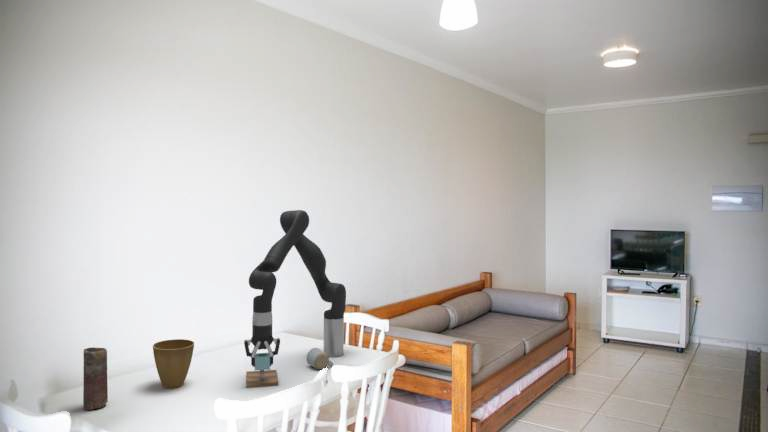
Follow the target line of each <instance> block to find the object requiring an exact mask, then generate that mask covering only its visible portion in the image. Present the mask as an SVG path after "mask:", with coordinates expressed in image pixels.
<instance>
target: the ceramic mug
mask: <svg viewBox="0 0 768 432" xmlns="http://www.w3.org/2000/svg"><path fill="white" fill-rule="evenodd" d="M306 363H307V364H308V365H310V366H312V367H313V368H314V369H317V370H320V369H321V370H324V369H325V367H326V368H327V367H333V366H334V362H333V361H331V360H330V358H329V357H328V356H327V354H326V353H324V350H322V349H321V348H318V347H314V348H311V349H310V350H308V352H307V354H306ZM323 368H324V369H323Z"/></svg>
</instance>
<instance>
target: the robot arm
mask: <svg viewBox="0 0 768 432" xmlns="http://www.w3.org/2000/svg"><path fill="white" fill-rule="evenodd" d="M279 223H280V226H281V227H280V228H281V229H282V230H283V233H285V234H284V235H283V236H282V237H281V238H280V239H279V240H277V241H276V242H275V243H274V244H273V245H272V246H271V248H270V249H269V251H268V252H267V253H266V256H265V257H264V259H263V261H262V262H260V263H259V264H258V265H257V266H256V267H255V268H254V269H253V270H252V272H250V275H249V277H248V278H249V279H248V285H249V286H250V288H251V289H253V290H260V291H262V293H261V295H260V294H259V295H256V296H254V297H253V301H252V318H251V319H252V320H251V321H252V328H251V329H252V333H251V334H252V336H251V338H250V339H244V341H243V344H244V349H245V355H246V357H250V360H251V362H250V363H251V364H250V365H251V366H252V368H255V354H256V353H258V350H267V353H269V354H270V367H272V365H274V356H277V355H278V354H279V350H280V344H281V339H280V338H279V337H277V338H274V337H273V313H272V312H273V311H272V309H273V307H272V306H273V305H272V302H273V298H274V294H275V290H276V286H277V277H276V275H275V274H274V273H276V272H278V271H279V270H280V269H281V266H282V265H283V263H284V261H285V259H286V257H287V256H288V254H289V252H290V251H291V249H292V248H293V247H294V248H295V249H296V251H297V253H298V254H299V256H300V259H301V261H302V262H303V264H304V266H305V267H306V269H307V271H308V272H309V273H308V274H310V276H311V278H312V280H313V282H314V284H315V287H316V288H317V292H318V294H319V297H320V298H321V300H322V301H324V302H326V303H330V304H331V307H330V308H329V309H327V310H324V312H323V352H324V353H326V354H327V356H328V357H330V358H331V357H332V358H338V357H341V356H344V340H345V339H344V337H345V336H344V333H345V331H344V330H345V328H344V326H345V325H344V323H345V321H344V320H345V318H344V315H345V313H346V303H347V302H346V301H347V290H346V287H345V285H344V284H342V283H337V282H331V281H330V280H329V278H328V277H327V274H326V267H327V260H326V257H325V255H324V252H322V250H321V248H320V246H319V245H317V244H316V243H315V242H313V241H312V240H311V239H309V237H307V236H306V235H304V233H305V232H306V230H307V229H308V227H309V224H310V217H309V214H308V213H307V212H306V211H305V210H301V209H298V210H296V209H295V210H286V211H283V212H282V213H281V214H280V217H279ZM272 343H274V345H275V348H274V350H272V347H271V345H272ZM251 344H253V346H254V347H253V349H252V351H251V352H250V347H249V346H250V345H251Z"/></svg>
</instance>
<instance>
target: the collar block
mask: <svg viewBox="0 0 768 432" xmlns="http://www.w3.org/2000/svg"><path fill="white" fill-rule="evenodd" d="M260 370H271V366H270V354H269V352H256V354H255V367H254V371H260Z"/></svg>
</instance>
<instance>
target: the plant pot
mask: <svg viewBox="0 0 768 432" xmlns="http://www.w3.org/2000/svg"><path fill="white" fill-rule="evenodd" d="M194 347H195V341H193V340H191V339H190V340H189V339H182V338H178V339H177V338H176V339H167V340H165V339H164V340H162V341H161V340H160V341H158V342H155V343H153V344H152V351H153V358H154V363H155V367H156V368H155V369H156V371H157V374H158V377H159V379H160V383H161V385H162V387H163V388H165V387H166V389H176V388H175V387H177V388H180V387H183V385H185V384H184V383H185V381H186V378H187V375H188V374H189V369H190V366H191V364H192V359H193V353H194ZM179 386H180V387H179Z"/></svg>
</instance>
